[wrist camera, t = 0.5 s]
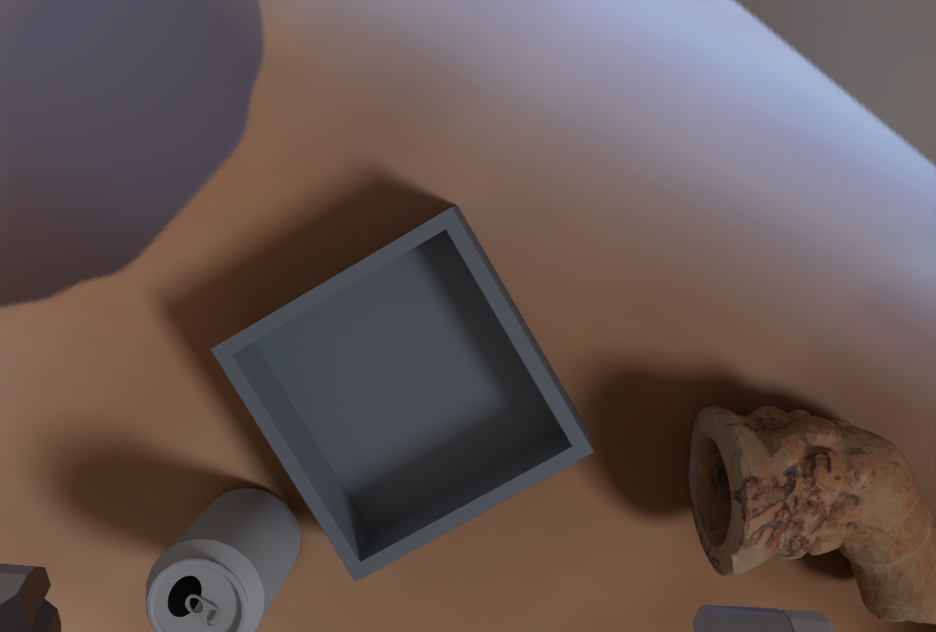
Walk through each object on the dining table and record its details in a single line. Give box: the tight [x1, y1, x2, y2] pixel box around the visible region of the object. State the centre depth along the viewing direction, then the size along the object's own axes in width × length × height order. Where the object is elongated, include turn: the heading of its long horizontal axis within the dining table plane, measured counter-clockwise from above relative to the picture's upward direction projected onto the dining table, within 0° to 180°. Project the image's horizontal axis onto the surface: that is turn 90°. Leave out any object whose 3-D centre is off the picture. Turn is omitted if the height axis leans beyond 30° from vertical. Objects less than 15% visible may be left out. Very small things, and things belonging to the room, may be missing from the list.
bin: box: [211, 206, 594, 582], centre depth 59 cm, size 18×18×6 cm
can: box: [146, 488, 301, 632], centre depth 59 cm, size 8×8×12 cm
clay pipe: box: [689, 406, 936, 624], centre depth 58 cm, size 19×11×15 cm
